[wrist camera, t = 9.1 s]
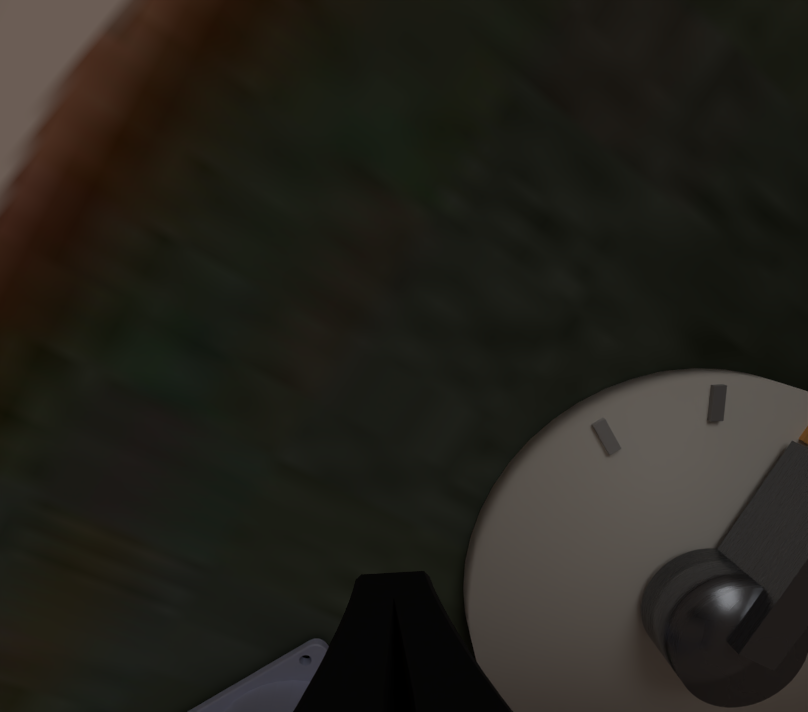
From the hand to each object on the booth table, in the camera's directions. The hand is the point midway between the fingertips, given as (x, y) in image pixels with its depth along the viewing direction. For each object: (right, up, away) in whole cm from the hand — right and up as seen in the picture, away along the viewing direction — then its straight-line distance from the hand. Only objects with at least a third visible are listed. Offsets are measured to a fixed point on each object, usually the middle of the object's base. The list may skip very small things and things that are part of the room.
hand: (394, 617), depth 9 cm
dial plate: (+12, -5, +12) cm, 18 cm away
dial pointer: (+14, -3, +10) cm, 17 cm away
